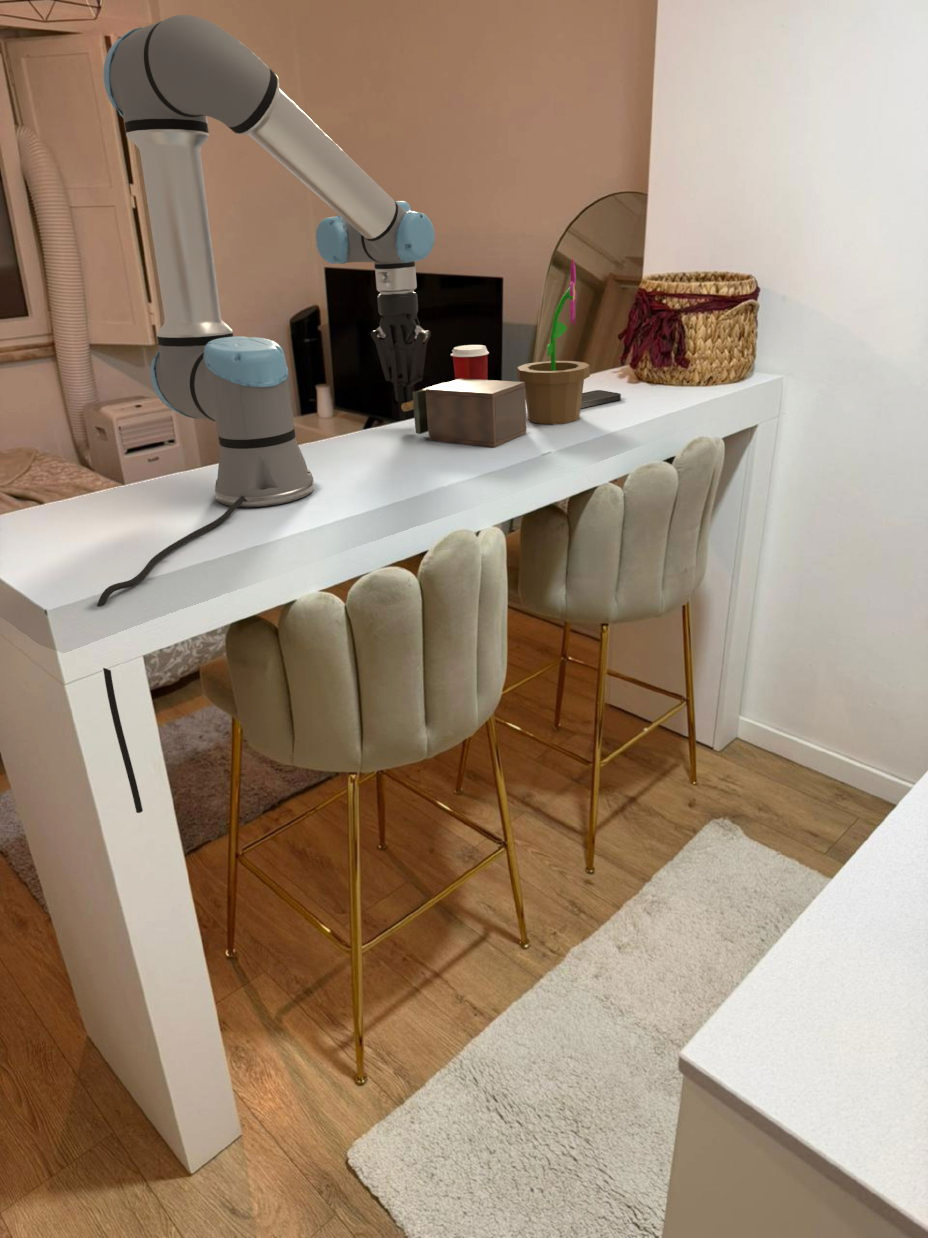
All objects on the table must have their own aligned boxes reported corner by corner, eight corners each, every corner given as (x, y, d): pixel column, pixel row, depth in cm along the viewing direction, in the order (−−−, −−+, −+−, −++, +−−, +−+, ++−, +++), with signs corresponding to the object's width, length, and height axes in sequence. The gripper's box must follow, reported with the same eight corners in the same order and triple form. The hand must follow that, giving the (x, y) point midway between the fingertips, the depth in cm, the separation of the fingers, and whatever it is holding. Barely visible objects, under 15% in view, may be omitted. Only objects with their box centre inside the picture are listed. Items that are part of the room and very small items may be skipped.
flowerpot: (587, 425, 172) (588, 259, 159) (514, 426, 174) (509, 262, 162) (591, 410, 184) (592, 254, 172) (522, 411, 187) (519, 258, 174)
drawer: (397, 431, 172) (394, 390, 169) (429, 420, 180) (426, 381, 177) (474, 439, 163) (472, 396, 159) (503, 427, 170) (502, 386, 167)
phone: (623, 393, 192) (571, 404, 184) (623, 399, 193) (571, 410, 185) (598, 389, 198) (546, 399, 190) (597, 394, 198) (546, 405, 191)
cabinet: (429, 440, 168) (425, 388, 164) (463, 427, 176) (460, 377, 172) (494, 447, 160) (492, 393, 156) (526, 433, 169) (525, 381, 165)
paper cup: (492, 411, 188) (490, 343, 182) (490, 419, 181) (487, 348, 176) (456, 413, 189) (452, 345, 183) (452, 420, 182) (447, 350, 176)
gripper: (357, 293, 167) (369, 419, 177) (412, 293, 160) (422, 424, 170) (382, 290, 172) (392, 411, 182) (436, 289, 166) (444, 416, 175)
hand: (406, 417), depth 176 cm, fingers closed
